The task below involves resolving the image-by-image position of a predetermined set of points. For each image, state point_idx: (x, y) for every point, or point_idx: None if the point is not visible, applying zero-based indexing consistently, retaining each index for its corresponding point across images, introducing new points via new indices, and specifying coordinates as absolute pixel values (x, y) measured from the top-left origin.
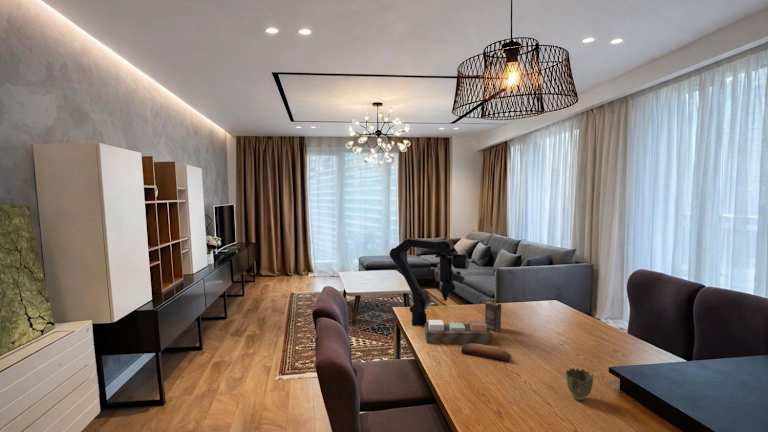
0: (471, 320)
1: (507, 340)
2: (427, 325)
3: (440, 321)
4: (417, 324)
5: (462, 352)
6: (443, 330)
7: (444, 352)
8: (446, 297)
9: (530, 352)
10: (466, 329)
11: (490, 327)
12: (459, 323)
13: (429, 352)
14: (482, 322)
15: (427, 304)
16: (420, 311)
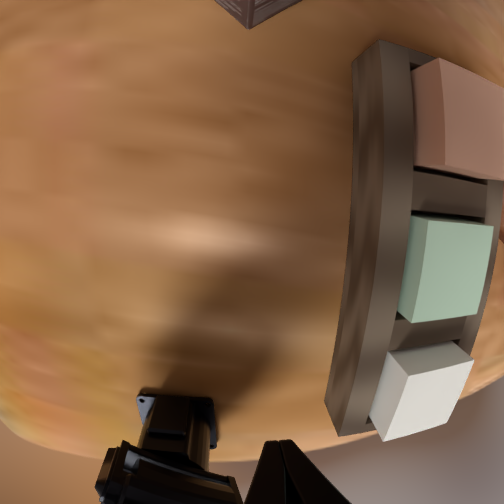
0: (448, 151)
1: (416, 6)
2: (371, 423)
3: (428, 383)
4: (215, 432)
5: None
6: (454, 346)
7: (498, 318)
8: (317, 480)
9: (491, 11)
10: (467, 209)
11: (285, 4)
12: (435, 249)
13: (482, 365)
14: (473, 87)
15: (198, 492)
16: (236, 485)
